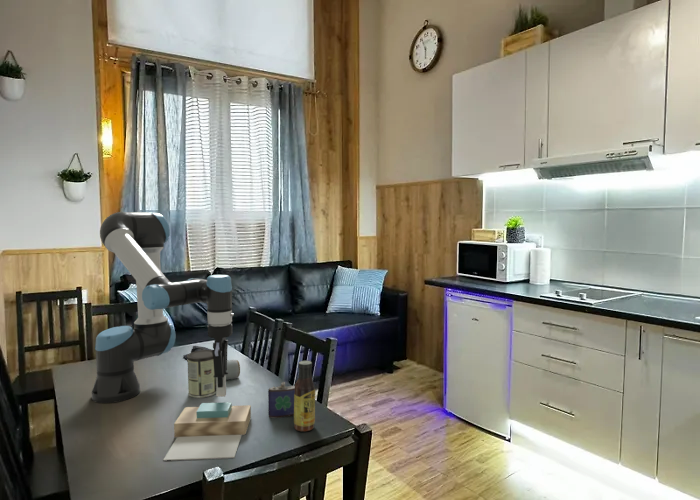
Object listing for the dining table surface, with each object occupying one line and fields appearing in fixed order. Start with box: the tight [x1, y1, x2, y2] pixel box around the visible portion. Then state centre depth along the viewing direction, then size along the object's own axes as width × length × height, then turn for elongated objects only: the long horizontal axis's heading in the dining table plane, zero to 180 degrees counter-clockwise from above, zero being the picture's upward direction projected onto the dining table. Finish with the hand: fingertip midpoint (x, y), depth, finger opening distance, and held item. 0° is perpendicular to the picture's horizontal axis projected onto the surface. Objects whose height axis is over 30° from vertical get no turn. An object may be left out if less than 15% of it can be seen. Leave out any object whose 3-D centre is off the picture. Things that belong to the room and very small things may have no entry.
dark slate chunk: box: [182, 345, 213, 361], centre depth 196 cm, size 15×22×5 cm
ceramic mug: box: [225, 359, 241, 381], centre depth 174 cm, size 11×8×8 cm
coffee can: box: [187, 349, 217, 399], centre depth 159 cm, size 10×10×14 cm
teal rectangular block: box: [197, 401, 233, 418], centre depth 133 cm, size 9×6×2 cm, turn 95°
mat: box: [162, 435, 243, 462], centre depth 121 cm, size 18×12×1 cm, turn 95°
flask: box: [267, 381, 295, 419], centre depth 140 cm, size 9×3×11 cm, turn 103°
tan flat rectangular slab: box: [173, 404, 252, 438], centre depth 133 cm, size 20×11×4 cm, turn 95°
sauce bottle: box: [293, 360, 316, 433], centre depth 132 cm, size 7×6×20 cm
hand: (221, 395), depth 143 cm, fingers closed
